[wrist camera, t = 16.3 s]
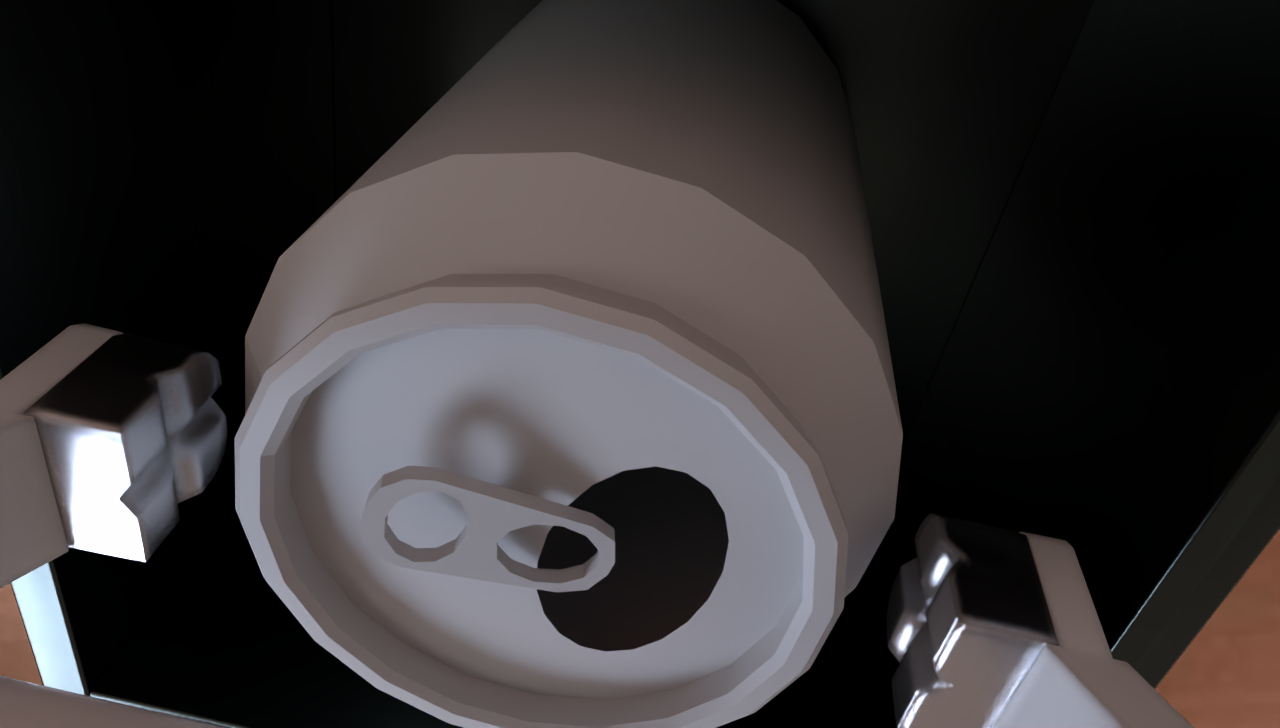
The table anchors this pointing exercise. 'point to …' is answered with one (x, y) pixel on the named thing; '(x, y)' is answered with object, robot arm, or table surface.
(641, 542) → the can
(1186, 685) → the table surface
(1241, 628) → the table surface
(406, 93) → the bin
